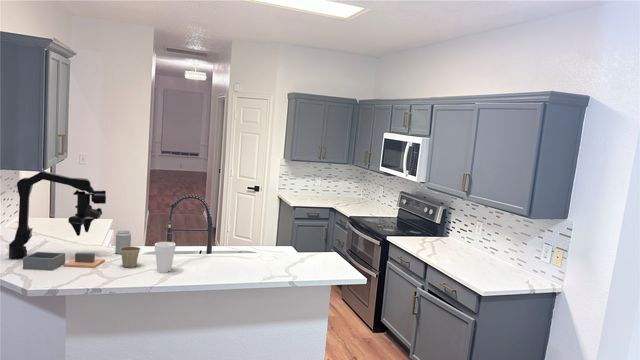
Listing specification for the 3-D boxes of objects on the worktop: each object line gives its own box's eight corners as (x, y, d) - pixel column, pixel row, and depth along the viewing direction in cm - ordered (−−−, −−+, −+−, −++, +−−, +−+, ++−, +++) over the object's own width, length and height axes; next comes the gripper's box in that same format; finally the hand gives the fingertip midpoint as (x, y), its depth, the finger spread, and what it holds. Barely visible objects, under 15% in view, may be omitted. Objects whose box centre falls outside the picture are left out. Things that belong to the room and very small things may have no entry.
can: (124, 255, 239) (125, 233, 239) (112, 253, 241) (112, 231, 240) (133, 252, 247) (134, 230, 246) (121, 250, 248) (121, 229, 247)
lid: (63, 269, 210) (63, 255, 210) (75, 262, 222) (76, 249, 221) (94, 270, 211) (94, 257, 210) (104, 263, 223) (105, 251, 222)
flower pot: (143, 266, 221) (144, 249, 220) (124, 269, 214) (124, 251, 213) (134, 262, 227) (135, 245, 227) (115, 265, 220) (116, 247, 220)
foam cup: (178, 269, 220) (179, 243, 219) (166, 274, 211) (167, 247, 210) (162, 266, 223) (163, 241, 222) (149, 271, 214) (150, 244, 213)
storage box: (22, 270, 203) (23, 257, 202) (36, 264, 213) (36, 251, 213) (52, 272, 203) (53, 259, 203) (64, 265, 214) (65, 253, 214)
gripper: (91, 207, 220) (90, 238, 221) (107, 202, 239) (106, 231, 240) (68, 205, 219) (67, 237, 220) (85, 200, 238) (84, 230, 239)
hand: (82, 233), depth 230 cm, fingers open, 9 cm apart
